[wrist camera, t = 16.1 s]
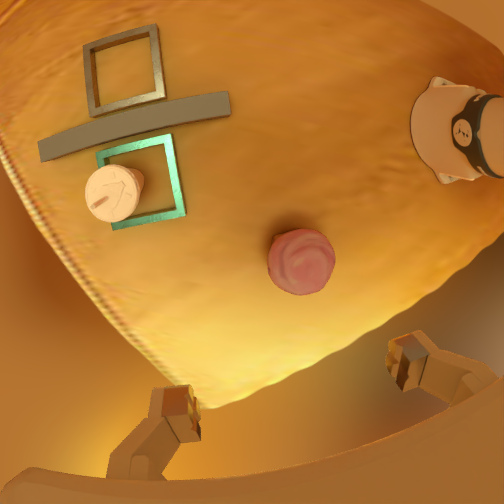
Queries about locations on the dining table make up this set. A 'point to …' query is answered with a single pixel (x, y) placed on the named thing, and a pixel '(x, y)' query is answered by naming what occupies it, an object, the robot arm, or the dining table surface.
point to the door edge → (135, 123)
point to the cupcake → (300, 261)
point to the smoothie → (114, 192)
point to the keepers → (159, 94)
